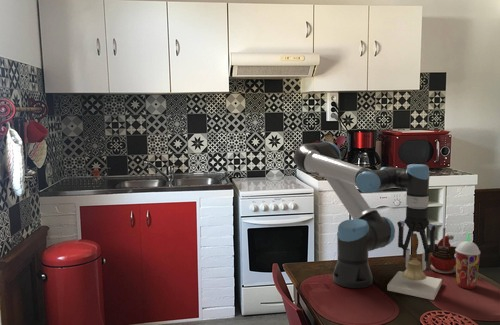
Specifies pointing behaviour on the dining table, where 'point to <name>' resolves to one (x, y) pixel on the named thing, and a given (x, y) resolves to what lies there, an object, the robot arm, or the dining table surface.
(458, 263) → the smoothie
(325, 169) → the robot arm
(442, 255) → the cake
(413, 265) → the hand bell
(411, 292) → the stand
